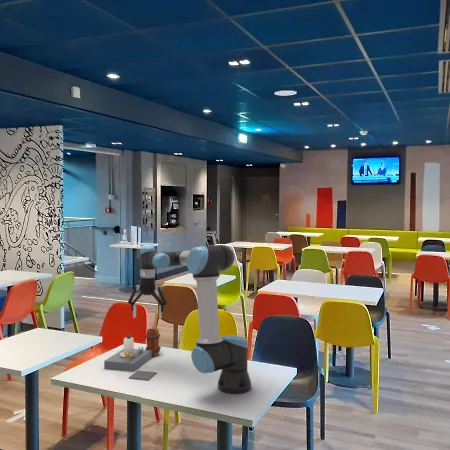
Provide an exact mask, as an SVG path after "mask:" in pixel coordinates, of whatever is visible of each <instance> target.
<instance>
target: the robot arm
mask: <svg viewBox="0 0 450 450" xmlns="http://www.w3.org/2000/svg"><path fill="white" fill-rule="evenodd" d="M139 258H140V259H139V260H140V261H139V264H140V266H139V267H140V269H139V270H140V271H139V276H140V278H139V282H140V283H139V284H140V285H134V287H133V291H132V293H131V295H130V297H129V299H128V301H127V304H128V305H130V307H131V308H130V309H131V312H132V315H133V316H132V318H133V319H135V318H136V317H137V304H136V302H138V300H139V299H141V297H142V296H143V295H144V296H147V295H148V296H153V298H154V299H155V300H156V302H157V303H158V304H159V307H158V309H159V310H158V319H162V318H163V316H162V315H163V314H162V313H163V312H164V309H165V307H164V306H165V305H168V301H167V299H166V297H165V295H164V292H163V290H162V286H161V285H159V286H156V277H155V276H156V269H160V270H161V269H163V270H164V269H166V268H170V267H181V266H182V267H183V266H184V267H185V266H186V268H187V271H188V272H189V273H190V274H192V279H193V280H195V282H196V293H197V294H196V296H197V297H196V298H197V310H198V311H197V312H198V316H197V317H198V329H199V331H198V332H199V333H198V334H199V337H198V338H197V339H196V341H195V342H196V346H195V347H193V348H192V351H191V353H190V354H191V361H192V364H193V365H194V367H195V369H196V370H197V371H198V372H199V373H202V374H205V375H206V374H210V373H211V374H212V373H214V372H217V371H220V375H219V377H218V381H217V389H218V390H219V391H220V392H223V393H226V394H231V395H232V394H236V395H237V394H243V393H247V392H249V391H250V390H251V389H252V380H251V377H250V374H249V371H248V355H249V353H248V352H249V351H248V349H249V347H248V340H247V339H246V338H245V337H244V336H239V335H235V334H234V335H233V334H225V335H222V336H220V326H219V325H220V324H219V323H220V322H219V321H220V320H219V308H218V307H219V304H218V302H219V301H218V286H217V285H218V284H217V280H218V279H219V278H220V276H221V275H220V272H223V271H227V270H228V269H230V268H231V267H232V266H233V264H234V262H235V253H234V251H233V250H232V249H231V248H230V247H229V246H227V245H225V244H224V245H223V244H216V245H200V246H195V247H193V248H191V249H190V250H177V251H176V250H175V251H164V252H163V251H162V252H161V251H160V252H156V248H155V247H154V246H142V247H141V248H140V252H139ZM138 290H140V293H138V295H137V296H136V297H135V295H136V293H137V292H138ZM155 291H157V292H158V294H157V293H156V292H155ZM159 296H160V297H159ZM134 298H135V299H134Z"/></svg>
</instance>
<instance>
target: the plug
mask: <svg viewBox="0 0 450 450" xmlns="http://www.w3.org/2000/svg"><path fill="white" fill-rule="evenodd" d="M134 339H135V338H134V337H132V336H131V334H129V333H128V334H126V337H124V338H123V349H124V352H121V353H120V357H123V358H125V352H130V354H132V353H133V352H135V351H134V349H135V348H134V346H135V345H134V344H135V343H134ZM137 355H138V353H137V354H135V355H134V356H132V357H135V356H137ZM132 357H131V358H132Z"/></svg>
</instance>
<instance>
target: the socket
mask: <svg viewBox="0 0 450 450" xmlns="http://www.w3.org/2000/svg"><path fill="white" fill-rule="evenodd" d="M136 350H138V349H137V348H134V351H136ZM121 352H124V348H122V349H121V350H119V351H117V352H116V353H115V354H113V355H111V356H109V357H108V358H106V359H105V360H104V362H103V364H104V365H103V368H104V369H105V370H112V371H114V370H115V371H123V372H131V373H132V372H134V373H135V372H136V371H137V370H138V369H139V368H141V367H142V366H143V365H145V364H146V363H147V362H149V361H150V360H151V359H153V356H152V351H150V350H145V349H143V351H139V352H138V355H137V356H135V357H132V358H129V359H126V358H123V357H120V353H121Z"/></svg>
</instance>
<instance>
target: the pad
mask: <svg viewBox="0 0 450 450" xmlns="http://www.w3.org/2000/svg"><path fill="white" fill-rule="evenodd" d="M156 374H157V371H147V370H140V369H139V370H138V369H137V370H135V371H134V373H132V374H131V375H129V377H128V379H130V380H139V381H150V380H151V379H152V378H153V377H154V376H155V375H156Z"/></svg>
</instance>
